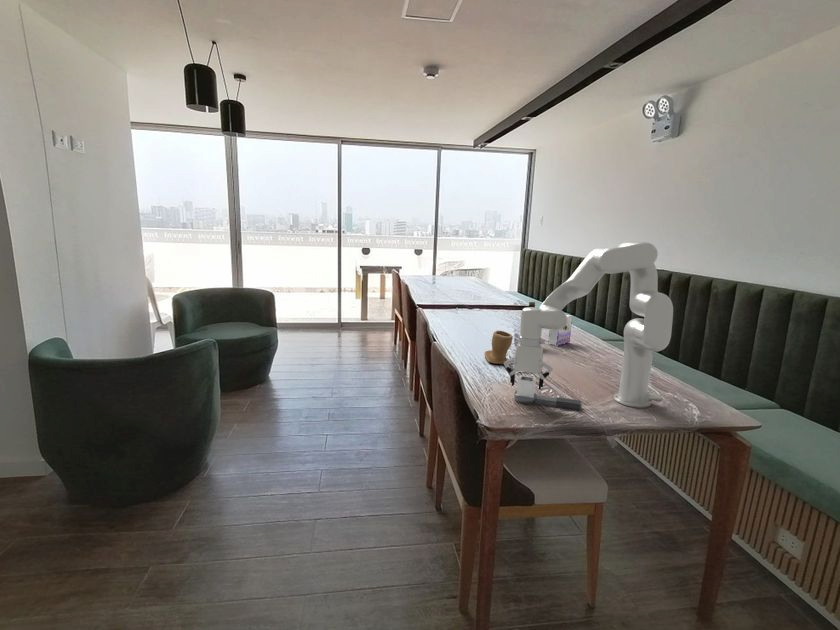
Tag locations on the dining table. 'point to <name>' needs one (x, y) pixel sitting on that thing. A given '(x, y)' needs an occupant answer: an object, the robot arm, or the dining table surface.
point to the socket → (526, 386)
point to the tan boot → (499, 347)
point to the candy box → (561, 334)
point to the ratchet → (549, 401)
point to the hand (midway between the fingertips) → (526, 386)
